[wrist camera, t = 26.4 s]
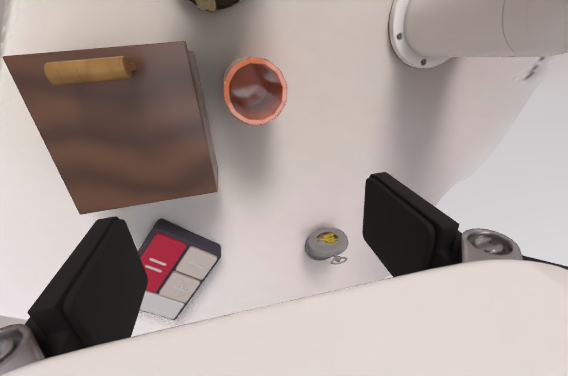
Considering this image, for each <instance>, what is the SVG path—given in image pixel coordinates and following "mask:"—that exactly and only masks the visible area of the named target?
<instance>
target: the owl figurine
mask: <svg viewBox="0 0 568 376" xmlns="http://www.w3.org/2000/svg"><path fill="white" fill-rule="evenodd" d="M190 1H191V2H193V3H194V4H196V5H197V6H198V8H199V9H200V10H207V11H209V12H210V13H213V12H215V11H216V10H218V9H224V8H228V7H230V6H232V5H233V4H235V3H237V2H238V1H240V0H190Z"/></svg>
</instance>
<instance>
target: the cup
mask: <svg viewBox="0 0 568 376" xmlns="http://www.w3.org/2000/svg"><path fill="white" fill-rule="evenodd" d="M286 86H287V84H286V82H285V79H284V77H283V75H282V72H281V71H280V69H279V68H277V67H276V66H275V65H273V64H272V63H271V62H269V61H268V60H266V59H260V58H249V57H242V58H239V59H237V60H235V61H234V62H232V63H231V64H229V66H228V68H227V69H226V71H225V73H224V76H223V93H224V99H225V102H226V104H227V106H228V108H229V109H230V111H231V113H232V114H233V116H235V117H236V118H238V119H240V120H241V121H243V122H244V123H247V124H258V125H262V123H263V124H265V123H267V122H269V121H271V120H273V119H275V118H276V116H278V115H279V113H280V112H281V110H282V109H283V107H284V106H285V103H286V97H287V87H286Z"/></svg>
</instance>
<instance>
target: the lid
mask: <svg viewBox="0 0 568 376" xmlns="http://www.w3.org/2000/svg"><path fill="white" fill-rule="evenodd" d="M3 59H4V61H5V63H6V65H7V67H8V69H9V71H10V73H11V75H12V77H13V80H14V82H15V84H16V86H17V88H18V90H19V92H20V94H21V96H22V98H23V100H24V102H25V104H26V106H27V108H28V110H29V112H30V114H31V116H32V118H33V120H34V122H35V124H36V126H37V128H38V130H39V132H40V134H41V136H42V138H43V140H44V143H45V145H46V147H47V149H48V151H49V153H50V155H51V157H52V159H53V161H54V163H55V165H56V167H57V169H58V171H59V173H60V175H61V177H62V179H63V181H64V183H65V185H66V187H67V189H68V191H69V193H70V195H71V197H72V199H73V201H74V203H75V205H76V208H77V210H78V212H79V214H87V213H93V212H99V211H105V210H111V209H117V208H123V207H129V206H135V205H141V204H147V203H153V202H159V201H165V200H171V199H177V198H183V197H189V196H195V195H201V194H207V193H213V192H217V191H218V189H217V184H216V179H215V175H214V170H213V166H212V161H211V156H210V152H209V147H208V142H207V138H206V133H205V129H204V124H203V119H202V115H201V110H200V105H199V101H198V96H197V91H196V87H195V82H194V78H193V73H192V68H191V64H190V59H189V54H188V50H187V45H186V42H185V41H180V42H169V43H157V44H145V45H133V46H121V47H109V48H97V49H85V50H73V51H61V52H49V53H37V54H25V55H13V56H3Z"/></svg>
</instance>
